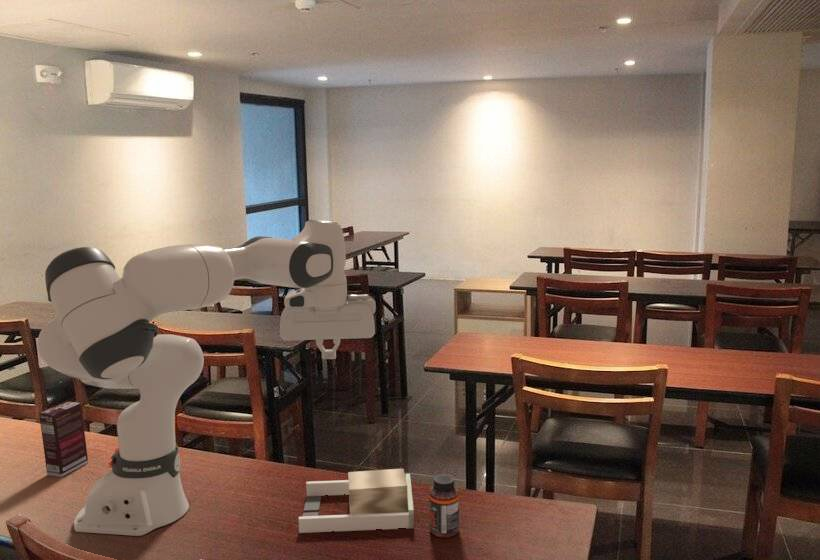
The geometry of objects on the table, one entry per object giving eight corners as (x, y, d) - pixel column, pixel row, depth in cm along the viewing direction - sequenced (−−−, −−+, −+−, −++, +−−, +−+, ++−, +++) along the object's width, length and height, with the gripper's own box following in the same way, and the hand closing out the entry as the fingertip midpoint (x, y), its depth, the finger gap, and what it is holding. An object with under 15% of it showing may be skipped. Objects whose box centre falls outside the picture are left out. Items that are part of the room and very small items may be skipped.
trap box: (299, 532, 138) (298, 514, 137) (307, 494, 153) (306, 477, 153) (413, 528, 139) (413, 509, 138) (410, 490, 154) (409, 473, 154)
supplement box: (74, 460, 173) (67, 400, 170) (89, 463, 171) (82, 402, 168) (45, 475, 165) (37, 412, 162) (60, 478, 163) (53, 414, 160)
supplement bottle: (424, 527, 139) (423, 475, 137) (450, 520, 141) (450, 469, 139) (437, 542, 134) (436, 488, 131) (464, 535, 136) (464, 481, 134)
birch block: (350, 521, 142) (349, 489, 141) (349, 502, 150) (348, 472, 149) (407, 516, 143) (407, 485, 142) (404, 498, 151) (403, 468, 150)
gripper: (375, 291, 149) (377, 352, 152) (280, 294, 149) (284, 355, 151) (375, 297, 143) (377, 361, 146) (276, 300, 142) (280, 364, 145)
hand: (329, 358), depth 148 cm, fingers closed
